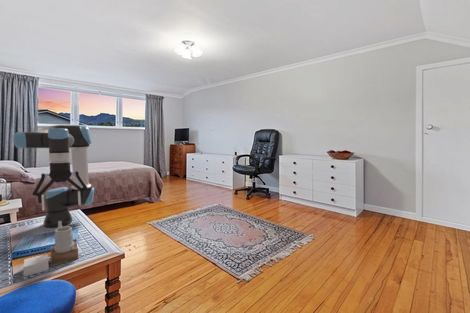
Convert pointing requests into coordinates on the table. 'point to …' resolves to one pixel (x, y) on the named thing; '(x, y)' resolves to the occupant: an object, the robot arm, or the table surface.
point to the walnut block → (64, 255)
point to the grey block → (35, 264)
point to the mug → (63, 238)
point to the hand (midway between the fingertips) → (62, 207)
